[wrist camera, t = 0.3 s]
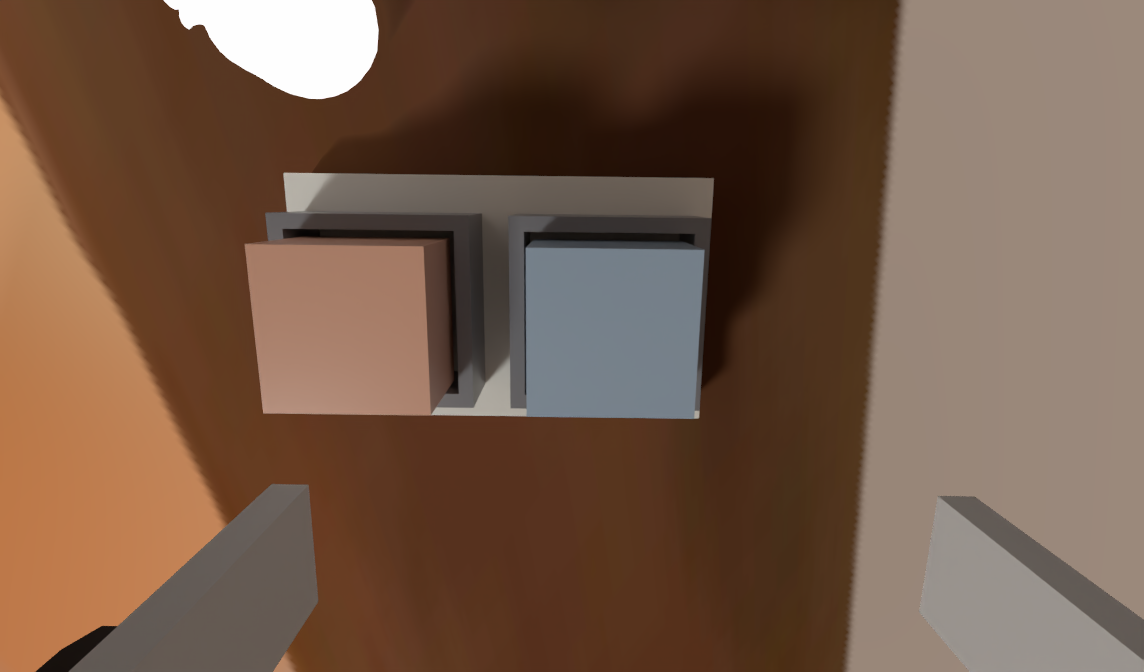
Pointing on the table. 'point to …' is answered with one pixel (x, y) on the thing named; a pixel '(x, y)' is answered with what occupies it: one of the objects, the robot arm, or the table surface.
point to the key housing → (497, 248)
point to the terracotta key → (352, 324)
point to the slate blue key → (612, 328)
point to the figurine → (291, 40)
